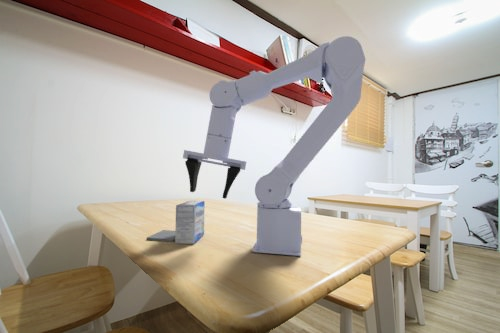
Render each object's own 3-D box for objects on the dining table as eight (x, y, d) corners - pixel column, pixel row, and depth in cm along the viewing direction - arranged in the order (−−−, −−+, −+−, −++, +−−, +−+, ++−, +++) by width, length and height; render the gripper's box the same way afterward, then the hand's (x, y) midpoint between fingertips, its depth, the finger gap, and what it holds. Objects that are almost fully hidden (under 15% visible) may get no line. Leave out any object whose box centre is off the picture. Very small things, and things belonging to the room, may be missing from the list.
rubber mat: (186, 233, 57) (186, 231, 57) (172, 241, 50) (172, 239, 51) (163, 231, 58) (163, 230, 59) (146, 239, 52) (146, 237, 52)
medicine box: (194, 245, 49) (195, 204, 49) (174, 244, 49) (175, 204, 49) (204, 235, 57) (205, 200, 57) (187, 234, 57) (188, 200, 57)
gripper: (250, 144, 56) (240, 197, 56) (193, 133, 56) (184, 186, 57) (249, 141, 49) (237, 202, 49) (184, 129, 49) (173, 190, 50)
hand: (208, 194), depth 53 cm, fingers open, 7 cm apart
